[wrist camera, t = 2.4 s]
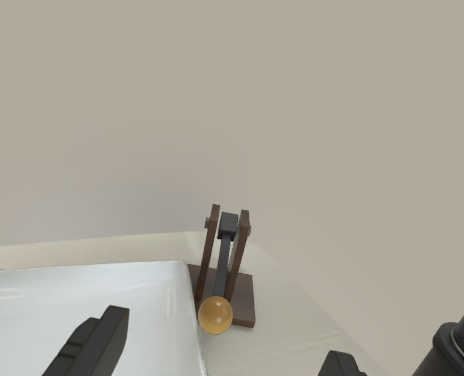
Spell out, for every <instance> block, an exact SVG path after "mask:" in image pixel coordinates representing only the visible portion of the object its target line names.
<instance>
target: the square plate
mask: <svg viewBox="0 0 464 376" xmlns="http://www.w3.org/2000/svg"><path fill="white" fill-rule="evenodd" d="M109 305H114V306H119V307H124V308H129V309H130V314H129V323H128V333H127V339H126V343H125V347H124V349H123V352H122V354H121V357H120V359H119V361H118V363H117V365H116V367H115V369H114V371H113V374H112V376H207V372H206V367H205V362H204V357H203V351H202V346H201V341H200V335H199V329H198V323H197V318H196V311H195V305H194V299H193V292H192V286H191V280H190V274H189V269H188V265H187V263H186V262H185V261H184V260H164V261H145V262H125V263H105V264H87V265H69V266H51V267H37V268H21V269H7V270H0V376H42V374H43V373H44V372H45V370H46V369H47V367H48V366H49V365H50V363H51V362H52V361H53V359H54V358H55V356H57V355H58V352H59V351H60V349H61V348H62V347H63V345H64V344H66V341H67V340H68V338H69V337H70V336H71V334H72V333H73V331H74V330H75V329H76V327H78V326H79V325H80V324H82V323H83V322H84V321H86V320H87V319H88V318H90V317H93V318H98V319H100V318H101V316H102V315H103V313H104V312H105V310H106V309H107V307H108V306H109Z"/></svg>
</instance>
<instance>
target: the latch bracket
mask: <svg viewBox="0 0 464 376" xmlns="http://www.w3.org/2000/svg"><path fill="white" fill-rule="evenodd" d="M219 210H220V205H215V204H213V206H212V211H211V216H210V218H206V222H205V228H208V231H207V236H206V242H205V247H204V252H203V257H202V263H201V266H197V265H192V264H187V265H188V269H189V274H190V280H191V286H192V292H193V299H194V305H195V311H196V318H197V319H198V312H199V308H200V306H201V304H202V303H203V302H204V301H205V300H206V299H208V298H209V297H213V292H214V285H215V279H216V272H217V269H214V268H209V262H210V257H211V252H212V247H213V242H214V237H215V233H216V228H217V222H218V216H219ZM250 233H251V226H250V222H249V211H247V210H241V215H240V219H239V223H238V227H237V232H236V235H235V239H234V244H233V248H232V252H231V256H230V260H229V264H228V268H227V274H226V282H225V290H224V299H226V300H227V301H228V302H229V303H230V305H231V307H232V310H233V320H232V323H231V324H233V325H239V326H245V327H251V328H253V327H254V324H255V310H254V296H253V281H252V275H248V274H243V273H238V271H239V267H240V264H241V260H242V256H243V252H244V248H245V244H246V241H247V237H248V236H250Z"/></svg>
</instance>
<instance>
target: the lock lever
mask: <svg viewBox="0 0 464 376" xmlns="http://www.w3.org/2000/svg"><path fill="white" fill-rule="evenodd" d="M237 223H238V215H237V214H232V213H226V212H222V215H221V219H220V224H219V230H218V236H217V239H221V246H220V252H219V259H218V266H217V272H216V279H215V285H214V292H213V297H209V298H208V299H206V300H205V301H204V302H203V303H202V304H201V306H200V308H199V312H198V320H199V324H200V326H201V327H202V329H203V330H204V331H205V332H207V333H209V334H212V335H218V334H222V333H223V332H225V331H226V330H227V329H228V328H229V327H230V325H231V323H232V320H233V310H232V307H231V305H230V303H229V302H228V301H227V300H226V299H224V290H225V282H226V274H227V266H228V258H229V250H230V242H231V241H232V242H233V241H234V238H235V235H236V232H237Z"/></svg>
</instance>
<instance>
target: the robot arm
mask: <svg viewBox="0 0 464 376" xmlns="http://www.w3.org/2000/svg"><path fill="white" fill-rule="evenodd" d="M129 314H130V309H129V308H124V307H119V306H114V305H109V306H108V307H107V309H106V310H105V312H104V313H103V315H102V316H101V318H100V319H98V318H93V317H90V318H88V319H87V320H86V321H84V322H83V323H82V324H80V325H79V326H78V327H76V329H75V330H74V331H73V333H72V334H71V336H70V337H69V338H68V340H67V341H66V344H64V345H63V347H62V348H61V349H60V351H59V352H58V355H57V356H55V358H54V359H53V361H52V362H51V363H50V365H49V366H48V367H47V369H46V370H45V372H44V373H43V374H42V376H112V374H113V371H114V369H115V367H116V365H117V363H118V361H119V359H120V357H121V354H122V352H123V349H124V347H125V343H126V339H127V333H128V323H129ZM450 340H451V343H452V345H453V347H454V348H455V350H456V351H457V352H458V354H459V355H460V356H461V357H462V358H463V359H464V316H463V317H462V319H461V320H460V322H459V323H458V324H457V326H456V327H454V328H453V329H452V331H451V332H450ZM318 376H367V375H366V373H364V372H360V371H359V369H358V366H357V364H356V362H355V359H354V357H353V356H352V355H351V354H348V353H343V352H338V351H333V350H331V351H329V353H328V355H327V357H326V359H325V361H324V363H323V366H322V368H321V370H320V372H319V374H318Z"/></svg>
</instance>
